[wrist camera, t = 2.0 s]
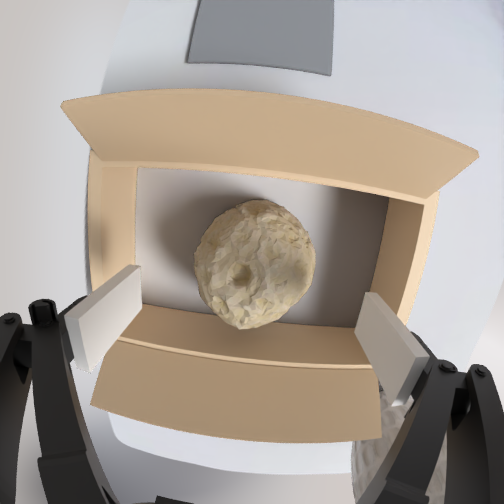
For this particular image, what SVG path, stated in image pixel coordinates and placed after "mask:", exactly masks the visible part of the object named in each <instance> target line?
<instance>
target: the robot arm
mask: <svg viewBox="0 0 504 504" xmlns="http://www.w3.org/2000/svg"><path fill="white" fill-rule="evenodd" d="M28 308H29V313H30V317H31V321H32V325H30V324H23V323H22V319H21V317H20V315H19V314H17V313H6V314H4V315H3V316H1V317H0V504H15V496H16V475H17V474H16V473H17V461H18V451H19V442H20V435H21V429H22V422H23V416H24V411H25V406H26V402H27V397H28V393H29V389H30V384H31V381H32V383H33V396H34V407H35V416H36V423H37V430H38V436H39V442H40V447H41V452H42V457H39V458H38V468H39V472H40V477H41V480H42V484H43V488H44V491H45V495H46V498H47V501H48V504H120V503H119V501H118V500H117V498H116V496H115V495H114V493H113V491H112V489H111V487H110V485H109V482H108V480H107V478H106V476H105V474H104V472H103V469H102V467H101V464H100V462H99V459H98V457H97V454H96V452H95V449H94V446H93V444H92V441H91V438H90V435H89V432H88V429H87V426H86V423H85V420H84V417H83V413H82V410H81V406H80V403H79V399H78V395H77V392H76V387H75V383H74V379H73V375H72V370H71V366H70V362H71V361H72V360H73V359H74V360H75V364H76V367H77V369H80V370H83V371H86V372H89V373H91V372H92V370H93V369H94V368H95V367H96V365H97V364H98V363H99V361H100V360H101V359H102V358H103V356H104V355H105V354H106V352H107V351H108V350H109V349H110V347H111V346H112V345H113V344H114V342H115V341H116V340H117V339H118V337H119V336H120V335H121V334H122V332H123V331H124V330H125V329H126V327H127V326H128V325H129V324H130V322H131V321H132V320H133V319H134V318H135V316H136V315H137V314H138V313H139V312H140V310H141V309H142V293H141V266H137V265H130V264H129V265H128V266H126V267H125V268H124V269H122V270H121V271H120V272H118V273H117V274H116V275H114V276H113V277H112V278H110V279H109V280H108V281H106V282H105V283H104V284H103V285H101V286H100V287H99V288H97V289H96V290H95V291H94V292H92V293H91V294H90V295H88V296H87V295H86V296H84V297H81V298H79V299H77V300H76V301H75V302H73V304H71V305H70V306H68V308H66V309H64V310H63V311H62V312H61V313H59V314H57V310H56V304H55V302H54V301H52V300H50V299H40V300H36V301H34V302H32V303H31V304H30V305H29V307H28ZM354 333H355V335H356V337H357V339H358V341H359V343H360V344H361V346H362V348H363V350H364V352H365V354H366V356H367V358H368V360H369V362H370V364H371V366H372V368H373V370H374V372H375V374H376V376H377V378H378V380H379V382H380V384H381V386H382V388H383V390H384V392H385V394H386V396H387V398H388V401H389V403H390V405H391V406H399V405H405V404H406V402H407V401H408V399H409V397H410V395H411V396H412V398H413V400H414V401H413V403H412V405H411V406H410V408H409V410H408V411H407V413H406V415H405V416H404V418H405V420H404V422H403V424H402V426H401V428H400V430H399V432H398V434H397V436H396V438H395V440H394V442H393V444H392V446H391V448H390V450H389V452H388V454H387V455H386V457H385V459H384V461H383V462H382V464H381V466H380V468H379V469H378V471H377V473H376V474H375V476H374V478H373V479H372V481H371V482H370V484H369V485H368V487H367V488H366V490H365V492H364V493H363V494H362V496H361V497H360V499H359V500H358V502H357V503H356V504H428V503H429V500H430V498H429V496H426V495H425V494H426V491H427V488H428V486H429V483H430V480H431V478H432V475H433V472H434V470H435V467H436V464H437V461H438V458H439V455H440V451H441V448H442V445H443V441H444V438H445V434H446V435H447V466H446V486H445V497H444V504H504V412H503V409H502V405H501V401H500V398H499V395H498V392H497V389H496V386H495V383H494V380H493V377H492V374H491V372H490V371H489V370H488V369H487V368H486V367H485V366H483V365H479V364H473V365H471V367H470V369H469V370H468V372H467V373H464V372H458V370H457V368H456V366H455V365H454V364H452V363H451V362H449V361H446V360H438V359H437V358H436V356H435V355H434V354H433V353H432V352H431V350H430V349H429V348H427V345H426V344H425V343H424V342H423V341H422V339H421V338H420V337H419V336H418V335H416V334H415V333H413V332H410V331H409V330H408V329H407V327H406V326H405V325H404V324H403V323H402V321H401V320H400V319H399V318H398V317H397V315H396V314H395V313H394V312H393V311H392V310H391V308H390V307H389V306H388V305H387V304H386V303H385V302H384V300H383V299H382V298H381V297H380V296H379V295H378V294H377V293H373V292H365V296H364V300H363V303H362V307H361V311H360V314H359V318H358V321H357V324H356V328H355V331H354ZM136 504H193V503H188V502H183V501H178V500H173V499H169V498H165V497H161V496H157V497H156V501H155V503H136Z"/></svg>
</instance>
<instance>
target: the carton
mask: <svg viewBox="0 0 504 504" xmlns="http://www.w3.org/2000/svg"><path fill="white" fill-rule="evenodd" d="M60 107H61V109H62V110H63V111H64V113H65V114H66V115H67V117H68V118H69V119H70V121H71V122H72V123H73V124H74V126H75V127H76V129H77V130H78V131H79V132H80V134H81V135H82V136H83V138H84V139H85V140H86V141H87V143H88V144H89V145H90V147H91V148H92V149H93V150H90V159H89V175H88V244H89V260H90V273H91V283H92V292H94V291H95V290H96V289H97V288H99V287H100V286H101V285H103V284H104V283H105V282H106V281H108V280H109V279H110V278H112V277H113V276H114V275H116V274H117V273H118V272H120V271H121V270H122V269H124V268H125V267H126V266H128V265H129V264H130V265H135V207H136V185H137V170H138V168H166V169H185V170H200V171H213V172H225V173H236V174H246V175H255V176H264V177H272V178H280V179H288V180H295V181H302V182H309V183H316V184H322V185H328V186H334V187H340V188H346V189H351V190H357V191H362V192H367V193H372V194H377V195H382V196H387V197H389V203H388V209H387V215H386V220H385V226H384V231H383V236H382V241H381V246H380V250H379V255H378V259H377V263H376V268H375V272H374V276H373V280H372V284H371V288H370V291H369V292H373V293H377V294H378V295H379V296H380V297H381V298H382V299H383V300H384V302H385V303H386V304H387V305H388V306H389V307H390V308H391V310H392V311H393V312H394V313H395V314H396V315H397V317H398V318H399V319H400V320H401V321H402V323H403V324H404V325H405V326H406V324H407V321H408V318H409V315H410V313H411V310H412V307H413V304H414V300H415V297H416V294H417V291H418V288H419V284H420V281H421V277H422V274H423V270H424V266H425V263H426V259H427V255H428V250H429V246H430V242H431V237H432V233H433V228H434V223H435V217H436V212H437V206H438V200H439V193H440V191H437V190H439V189H440V188H441V187H443V186H444V185H445V184H446V183H448V182H449V181H450V180H451V179H453V178H454V177H455V176H456V175H458V174H459V173H460V172H461V171H463V170H464V169H465V168H466V167H468V166H469V165H470V164H471V163H472V162H474V161H475V160H476V159H477V158H479V154H478V151H477V150H475V149H473V148H471V147H469V146H467V145H464V144H462V143H460V142H457V141H455V140H453V139H450V138H448V137H445V136H443V135H440V134H438V133H435V132H432V131H430V130H427V129H424V128H422V127H419V126H416V125H413V124H410V123H407V122H404V121H401V120H397V119H394V118H391V117H388V116H384V115H381V114H377V113H373V112H370V111H366V110H362V109H358V108H354V107H349V106H345V105H340V104H336V103H331V102H326V101H321V100H315V99H309V98H303V97H297V96H290V95H283V94H275V93H266V92H256V91H244V90H228V89H154V90H139V91H128V92H118V93H110V94H102V95H95V96H89V97H83V98H77V99H72V100H67V101H63V102H62V104H61V106H60ZM354 331H355V328H346V327H329V326H314V325H301V324H289V323H278V322H271V323H268V324H265V325H262V326H260V327H257V328H250V329H238V328H237V327H234V326H233V325H230V324H228V323H226V322H224V321H223V320H222V319H221V318H220V317H219V316H217V315H210V314H203V313H196V312H189V311H183V310H177V309H170V308H164V307H159V306H153V305H147V304H142V309H141V310H140V312H139V313H138V314H137V315H136V316H135V318H134V319H133V320H132V321H131V322H130V324H129V325H128V326H127V327H126V329H125V330H124V331H123V332H122V334H121V335H120V336H119V337H118V339H117V340H116V341H115V342H114V344H113V345H112V346H111V347H110V349H109V350H108V351H107V352H106V354H105V356H104V359H103V362H102V365H101V368H100V372H99V375H98V378H97V382H96V385H95V388H94V392H93V396H92V399H91V403H90V405H92V406H95V407H97V408H100V409H102V410H105V411H108V412H111V413H114V414H117V415H120V416H124V417H127V418H130V419H134V420H137V421H141V422H145V423H148V424H152V425H156V426H160V427H165V428H169V429H174V430H178V431H183V432H189V433H194V434H200V435H206V436H212V437H219V438H227V439H235V440H245V441H257V442H273V443H332V442H348V441H360V440H369V439H377V438H382V429H381V410H380V395H379V384H378V378H377V376H376V374H375V372H374V370H373V368H372V366H371V364H370V362H369V360H368V358H367V356H366V354H365V352H364V350H363V348H362V346H361V344H360V343H359V341H358V339H357V337H356V335H355V333H354Z"/></svg>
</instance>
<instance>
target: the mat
mask: <svg viewBox="0 0 504 504" xmlns="http://www.w3.org/2000/svg"><path fill="white" fill-rule="evenodd" d="M333 30H334V0H201V3H200V7H199V11H198V15H197V20H196V24H195V29H194V33H193V38H192V43H191V48H190V53H189V58H188V63H220V64H242V65H256V66H267V67H276V68H284V69H291V70H298V71H304V72H310V73H316V74H321V75H326V76H331V72H332V55H333Z"/></svg>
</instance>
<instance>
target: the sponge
mask: <svg viewBox="0 0 504 504" xmlns="http://www.w3.org/2000/svg"><path fill="white" fill-rule="evenodd" d="M315 256H316V252H315V250H314V247H313V244H312V243H311V239H310V237H309V234H308V231H305V229H304V228H303V226H302V225H301V223H300V222H299V220H298V219H297V218H296V217H295V216H294V215H292V214H291V213H290V212H289V211H287V210H286V209H285V208H284V207H282V206H279V205H278V204H275V203H272V202H269V200H251V201H247V202H245V203H240V204H238V205H236V208H232V209H230V210H226V211H225V212H224V213H223V214H221V215H220V216H218V217H217V218H215V219H214V221H213V223H212V224H211V225H210V226H209V227H208V228H207V230H206V231H205V232H204V235H203V236H202V237H201V243H200V245H199V246H198V247H197V250H196V252H194V259H195V261H194V271H195V276H196V278H197V280H198V285H199V293H200V296H201V298H202V300H203V301H204V302H205V304H206V305H208V306H209V307H210V308H211V310H212V311H213V312H214V313H216V314H217V315H218V316H219V317H220V318H221V319H222V320H223V321H224V322H226V323H228V324H230V325H233V326H234V327H237V328H238V329H250V328H257V327H260V326H262V325H265V324H268V323H271V322H273V321H276V320H278V319H280V318H281V317H282V315H284V314H285V313H287V312H288V309H289V308H290V307H291V306H293V305H294V304H296V303H297V302H298V301H299V300H300V298H301V297H302V296H303V295H304V294H305V293H306V292H307V290H308V288H309V287H310V286H311V284H312V279H313V275H314V270H315V263H316V261H315Z"/></svg>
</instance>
